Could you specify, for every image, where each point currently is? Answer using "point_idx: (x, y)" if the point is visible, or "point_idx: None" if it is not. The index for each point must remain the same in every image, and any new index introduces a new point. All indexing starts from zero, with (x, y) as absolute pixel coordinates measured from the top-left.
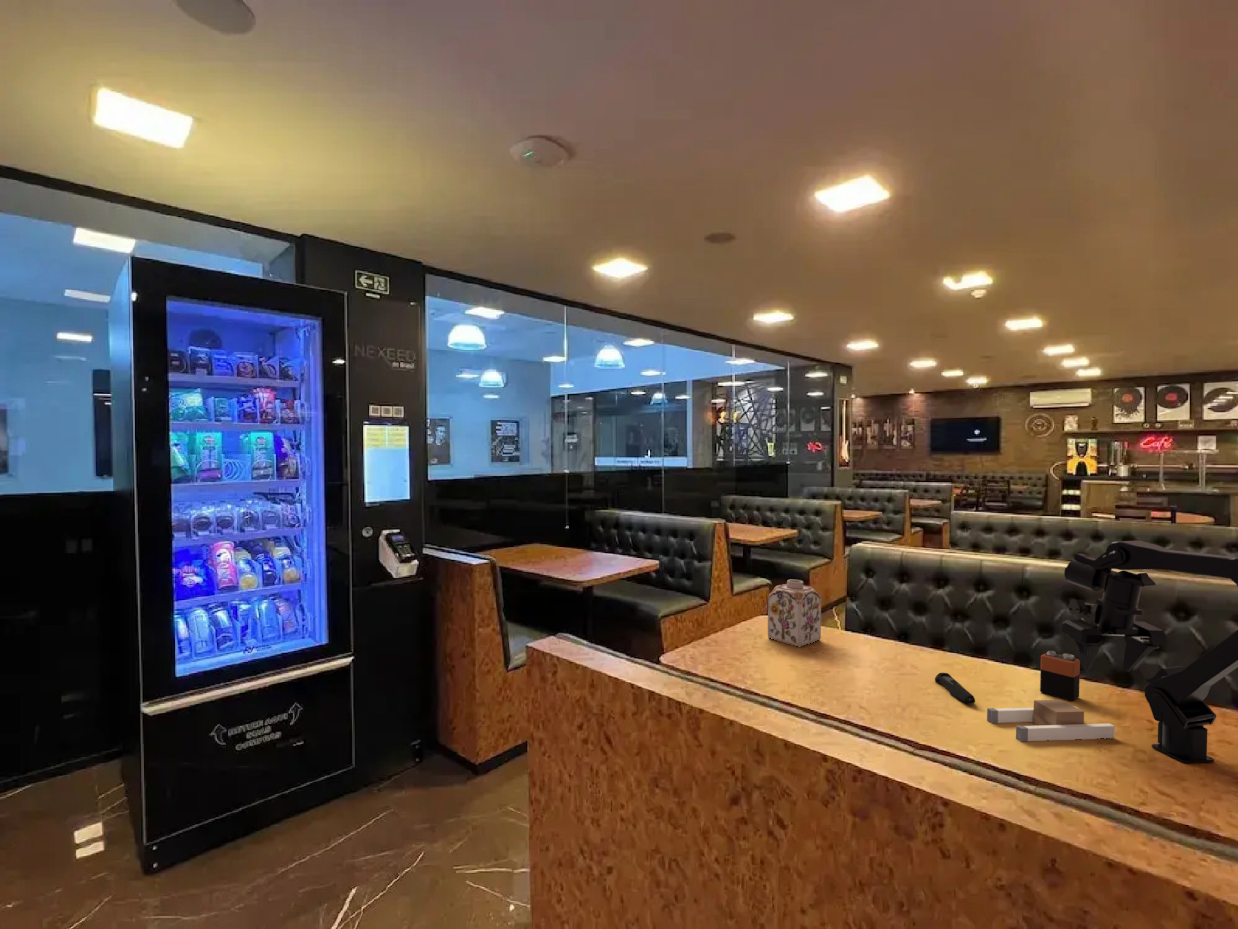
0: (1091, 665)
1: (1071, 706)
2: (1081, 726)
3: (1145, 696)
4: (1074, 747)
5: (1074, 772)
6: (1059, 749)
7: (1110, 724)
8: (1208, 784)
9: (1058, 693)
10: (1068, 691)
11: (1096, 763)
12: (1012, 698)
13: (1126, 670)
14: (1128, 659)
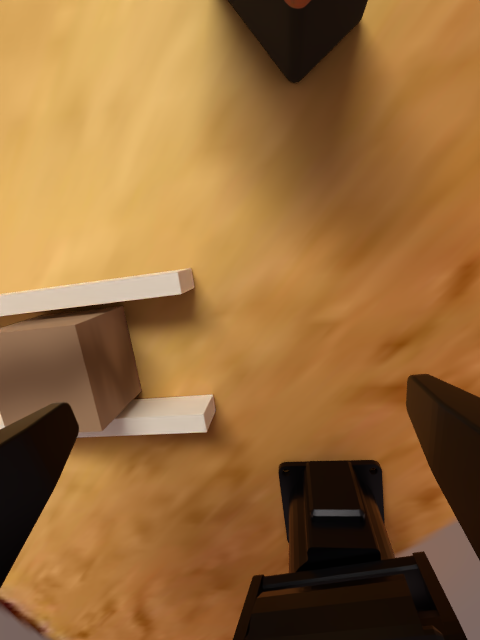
0: (52, 488)
1: (81, 390)
2: (100, 433)
3: (252, 612)
4: (79, 452)
5: None
6: None
7: (201, 422)
8: None
9: (255, 29)
10: (279, 51)
11: (86, 519)
12: (61, 82)
13: (408, 406)
14: (473, 486)
